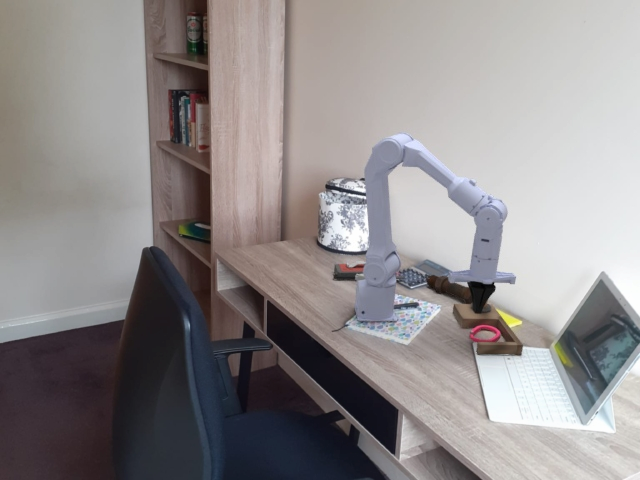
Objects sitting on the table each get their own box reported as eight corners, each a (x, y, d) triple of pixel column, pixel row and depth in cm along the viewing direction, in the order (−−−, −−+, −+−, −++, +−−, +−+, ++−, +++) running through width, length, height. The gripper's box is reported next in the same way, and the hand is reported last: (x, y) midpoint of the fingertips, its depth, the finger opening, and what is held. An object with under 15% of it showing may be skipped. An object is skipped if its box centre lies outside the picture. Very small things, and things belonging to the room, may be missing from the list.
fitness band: (481, 327, 142) (482, 321, 142) (504, 335, 139) (505, 330, 138) (465, 339, 136) (465, 333, 136) (488, 348, 133) (489, 342, 132)
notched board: (477, 354, 129) (479, 344, 128) (452, 312, 148) (453, 303, 147) (521, 355, 130) (523, 345, 129) (490, 313, 149) (492, 304, 148)
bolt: (430, 291, 165) (475, 309, 154) (420, 286, 161) (466, 305, 151) (438, 272, 165) (484, 288, 154) (428, 267, 162) (475, 283, 151)
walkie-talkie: (334, 284, 162) (405, 283, 165) (335, 270, 161) (406, 269, 164) (329, 272, 171) (397, 271, 174) (330, 258, 169) (398, 257, 172)
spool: (473, 312, 143) (477, 291, 141) (468, 304, 148) (471, 283, 146) (493, 313, 143) (496, 292, 142) (486, 304, 148) (490, 283, 146)
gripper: (457, 261, 124) (449, 319, 129) (524, 262, 126) (514, 320, 130) (448, 249, 131) (441, 305, 136) (512, 251, 132) (503, 306, 137)
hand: (476, 311), depth 133 cm, fingers closed
